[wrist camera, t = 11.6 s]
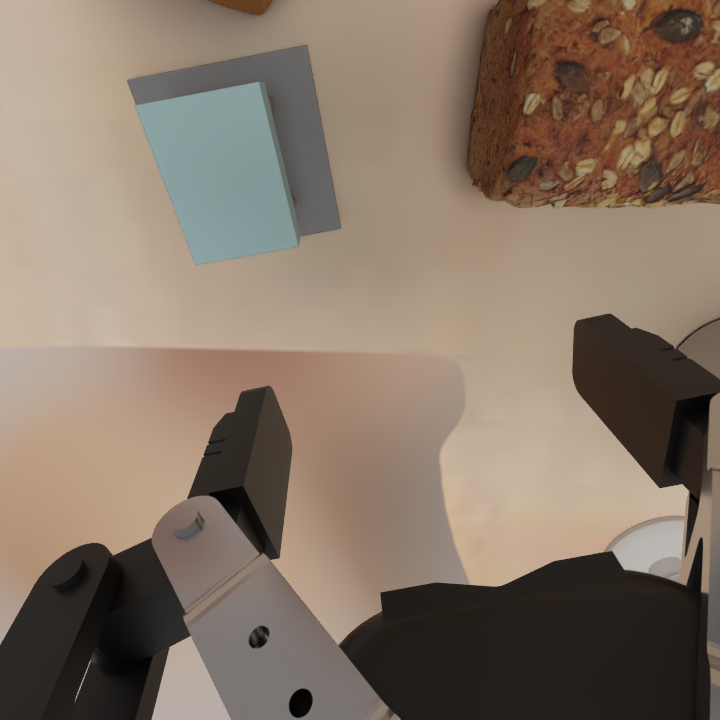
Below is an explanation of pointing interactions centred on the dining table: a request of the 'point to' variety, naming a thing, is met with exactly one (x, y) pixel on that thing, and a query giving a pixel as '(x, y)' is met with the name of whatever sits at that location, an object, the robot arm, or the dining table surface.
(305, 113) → the mat
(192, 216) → the blue block with pegs
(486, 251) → the dining table surface
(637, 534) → the candlestick
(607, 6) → the bread
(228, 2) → the coffee package
